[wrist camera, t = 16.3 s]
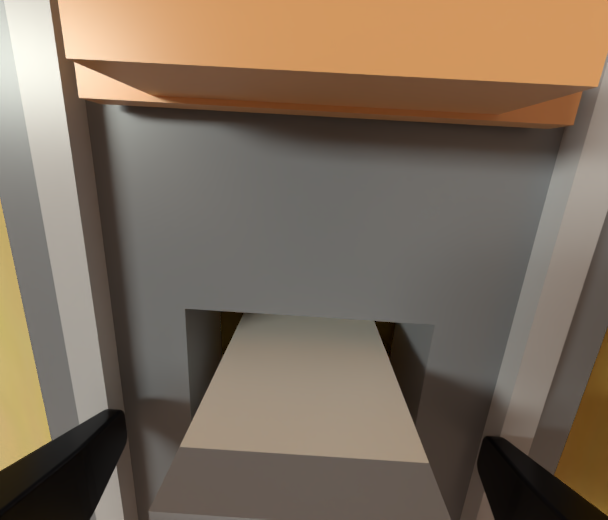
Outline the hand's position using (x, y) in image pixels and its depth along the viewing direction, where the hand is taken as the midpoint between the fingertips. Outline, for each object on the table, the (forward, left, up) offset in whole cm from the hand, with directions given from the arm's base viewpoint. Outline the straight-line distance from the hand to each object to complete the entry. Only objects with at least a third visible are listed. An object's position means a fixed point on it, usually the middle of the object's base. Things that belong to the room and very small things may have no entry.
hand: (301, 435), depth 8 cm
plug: (0, 0, -4) cm, 4 cm away
